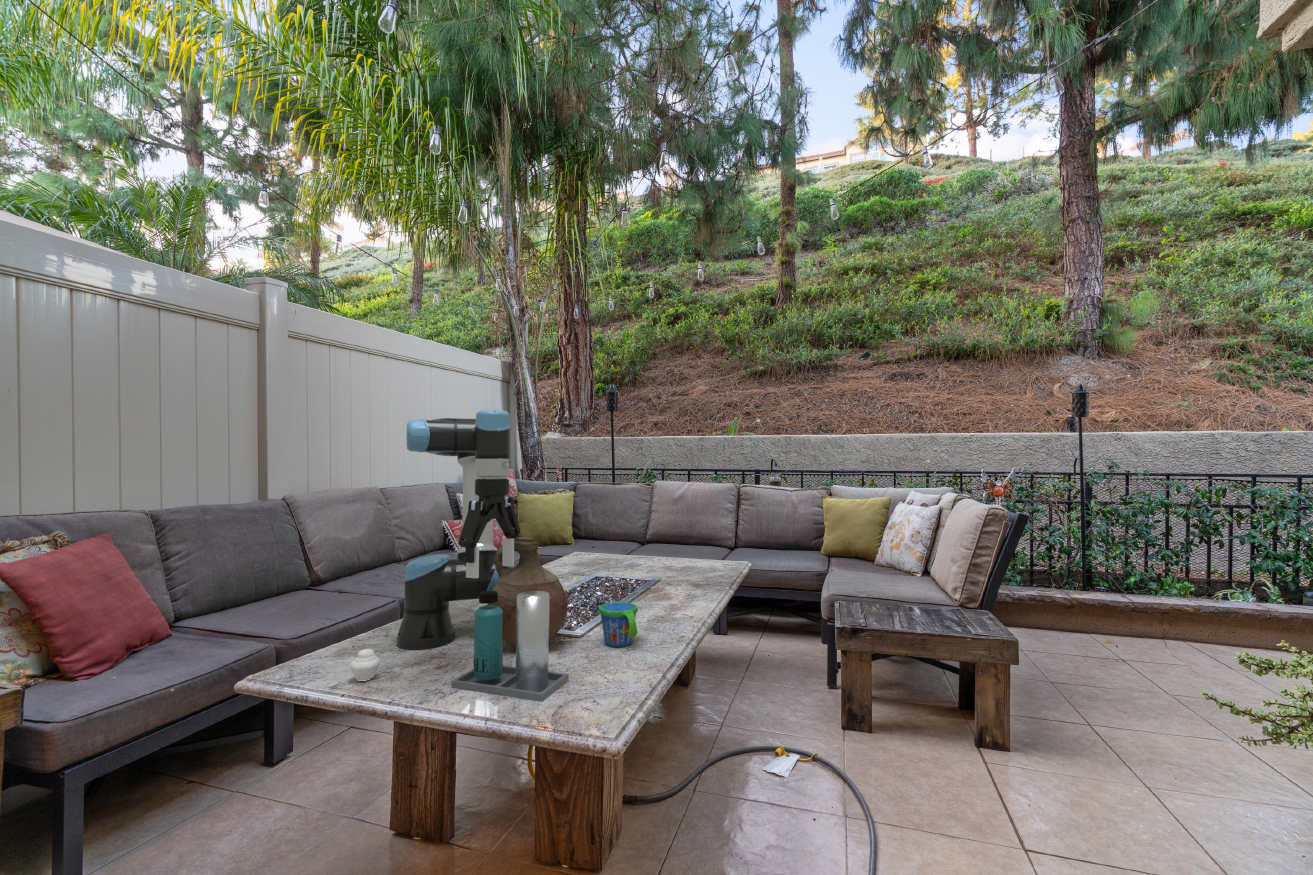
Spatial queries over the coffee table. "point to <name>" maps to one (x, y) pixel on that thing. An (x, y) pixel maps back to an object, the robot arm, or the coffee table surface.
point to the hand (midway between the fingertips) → (491, 571)
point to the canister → (532, 641)
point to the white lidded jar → (365, 665)
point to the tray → (508, 684)
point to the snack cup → (618, 623)
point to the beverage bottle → (488, 638)
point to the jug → (527, 588)
